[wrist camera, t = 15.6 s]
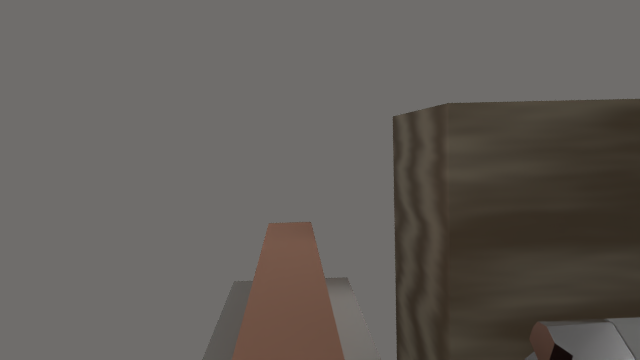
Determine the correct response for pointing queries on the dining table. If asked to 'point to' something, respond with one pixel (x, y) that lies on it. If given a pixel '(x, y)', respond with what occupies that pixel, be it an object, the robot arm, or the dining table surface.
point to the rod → (289, 301)
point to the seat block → (345, 308)
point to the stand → (513, 222)
